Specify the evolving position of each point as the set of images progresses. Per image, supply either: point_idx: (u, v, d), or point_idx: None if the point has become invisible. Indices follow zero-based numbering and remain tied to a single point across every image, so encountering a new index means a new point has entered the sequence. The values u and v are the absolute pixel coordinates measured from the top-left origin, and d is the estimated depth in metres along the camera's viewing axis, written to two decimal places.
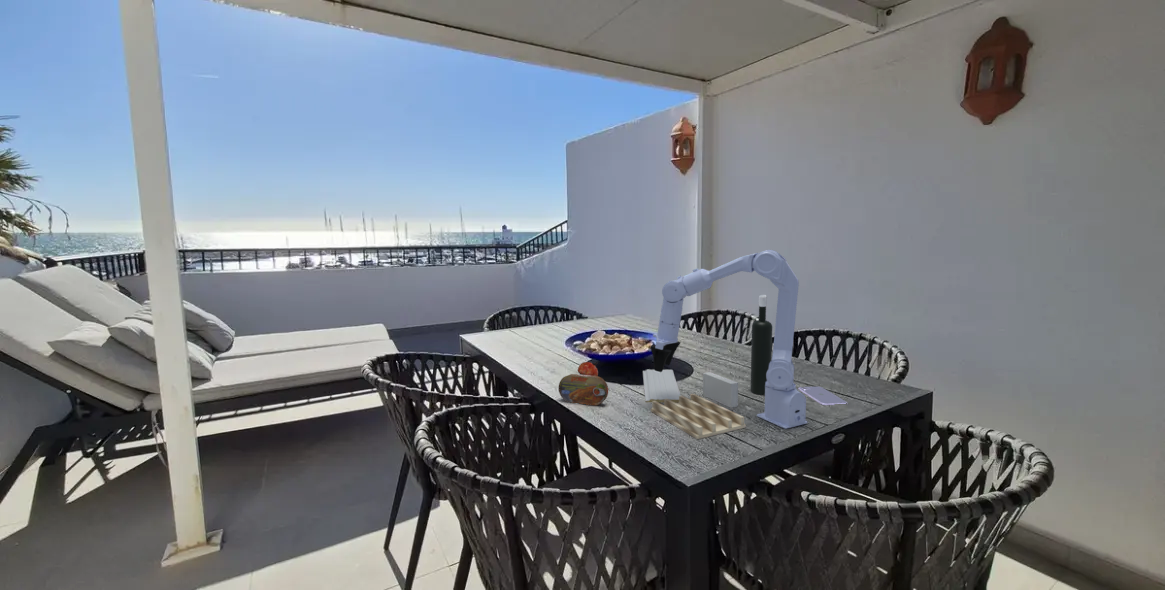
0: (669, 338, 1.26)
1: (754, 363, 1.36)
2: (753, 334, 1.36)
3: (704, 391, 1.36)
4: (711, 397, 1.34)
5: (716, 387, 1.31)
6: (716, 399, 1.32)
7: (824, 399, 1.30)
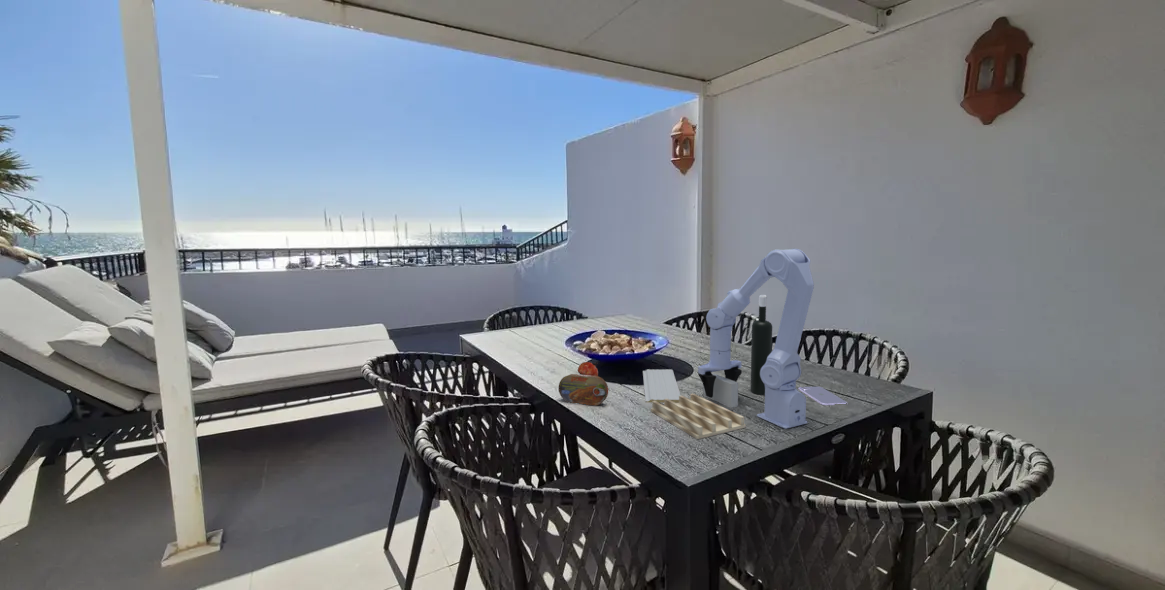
0: (716, 364, 1.29)
1: (754, 363, 1.36)
2: (753, 334, 1.36)
3: (704, 391, 1.36)
4: None
5: (716, 387, 1.31)
6: (716, 399, 1.32)
7: (824, 399, 1.30)
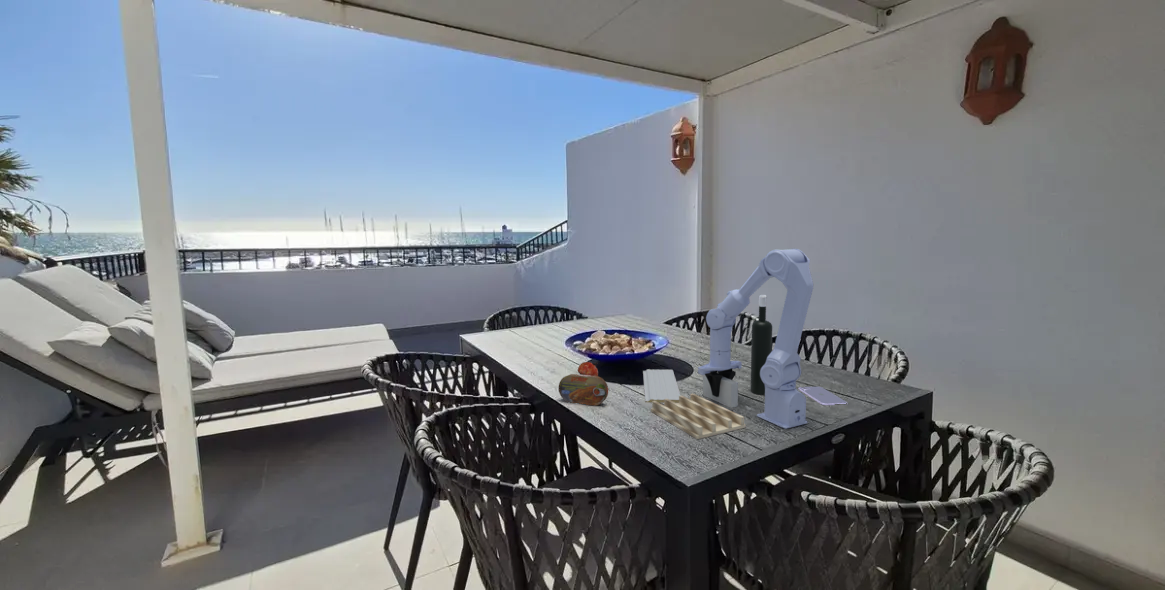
0: (716, 365, 1.29)
1: (754, 363, 1.36)
2: (753, 334, 1.36)
3: (704, 391, 1.36)
4: (711, 397, 1.34)
5: None
6: (716, 399, 1.32)
7: (824, 399, 1.30)
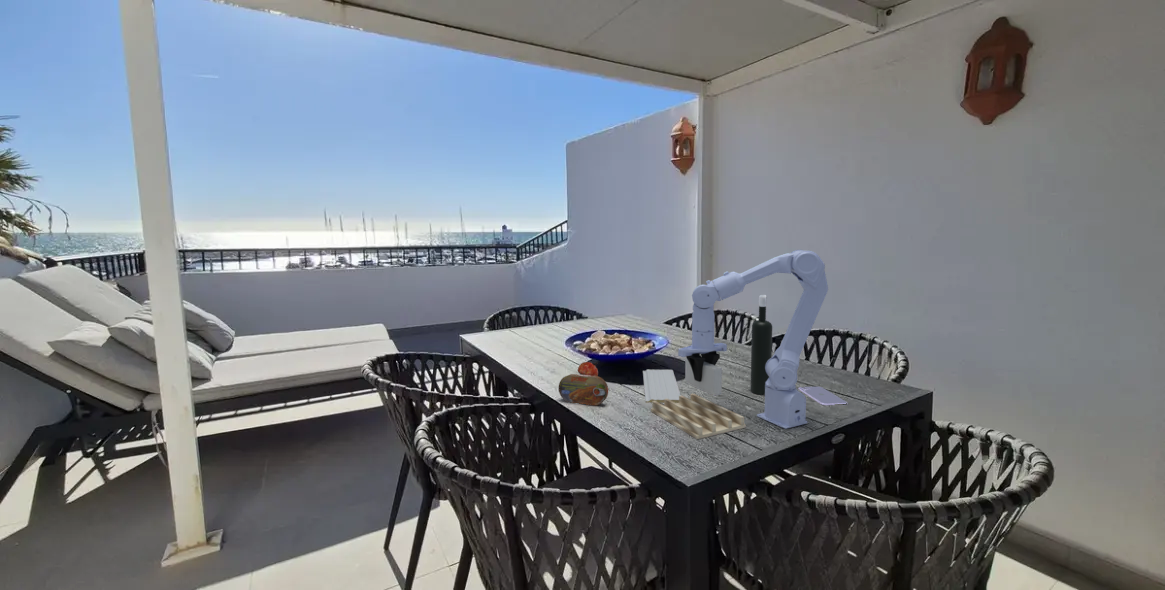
0: (698, 346, 1.18)
1: (754, 363, 1.36)
2: (753, 334, 1.36)
3: (686, 378, 1.26)
4: (694, 384, 1.23)
5: None
6: (699, 386, 1.21)
7: (824, 399, 1.30)
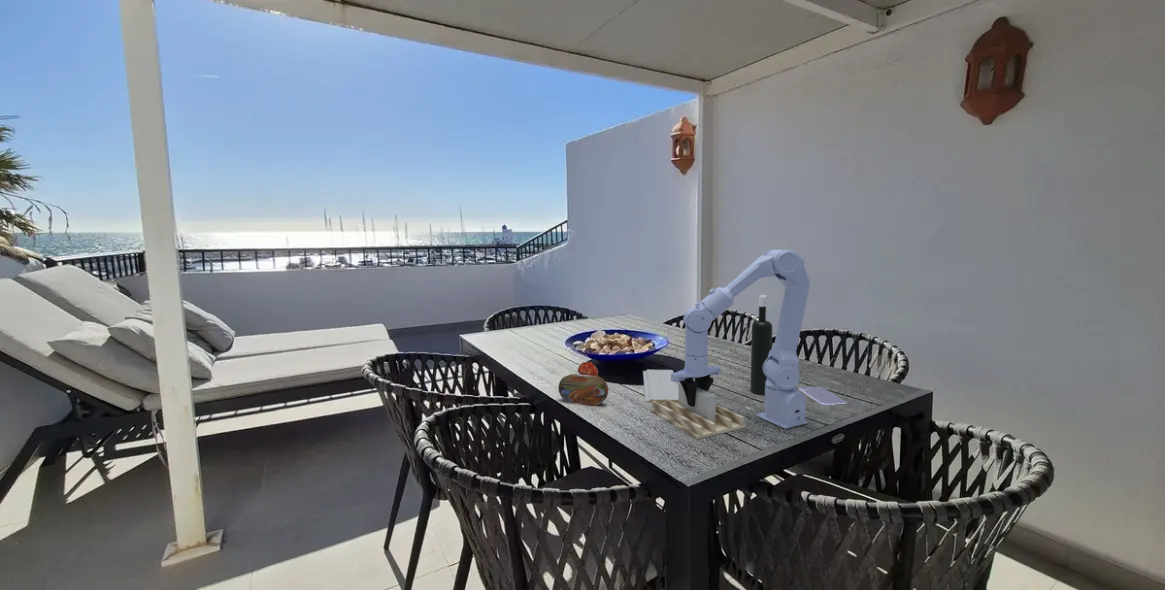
0: (691, 371, 1.15)
1: (754, 363, 1.36)
2: (753, 334, 1.36)
3: (680, 403, 1.23)
4: None
5: None
6: None
7: (824, 399, 1.30)
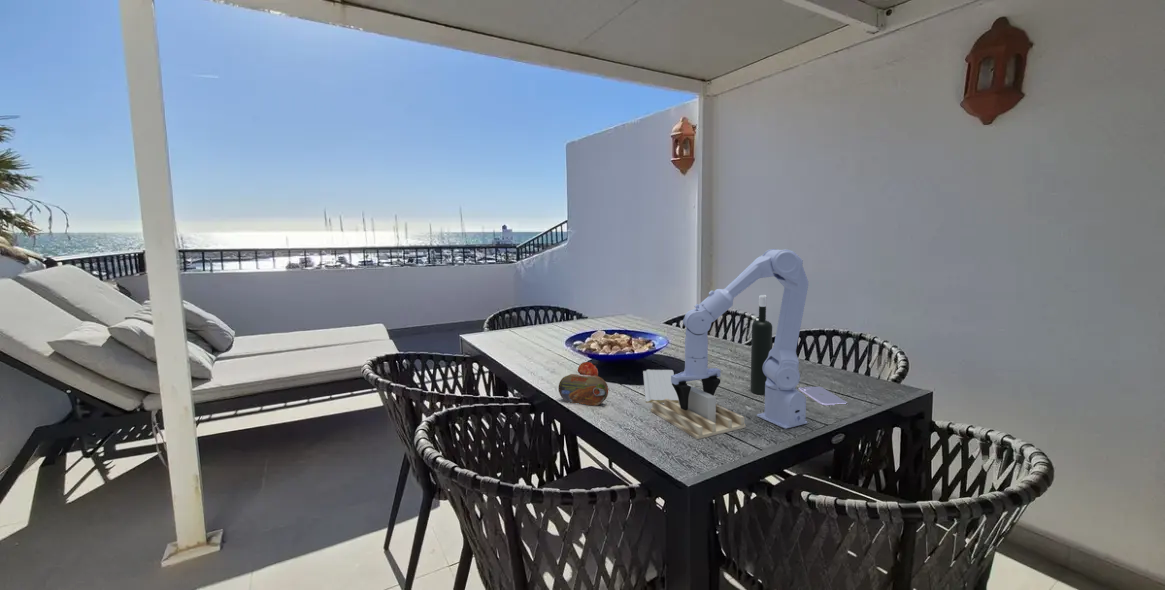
0: (691, 373, 1.15)
1: (754, 363, 1.36)
2: (753, 334, 1.36)
3: None
4: None
5: (692, 401, 1.18)
6: None
7: (824, 399, 1.30)
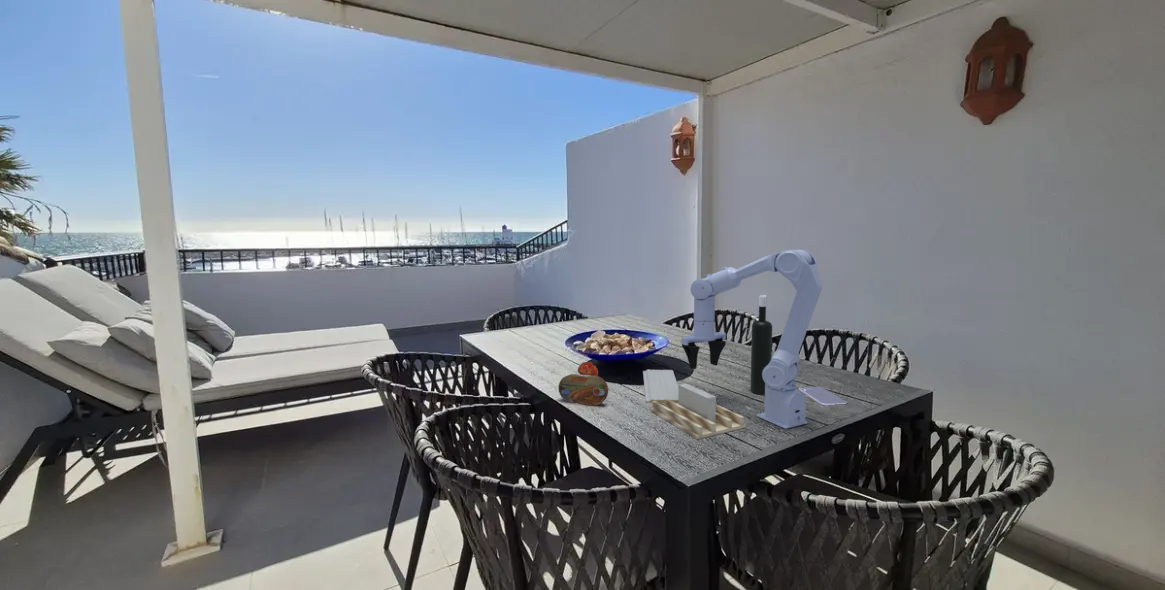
0: (699, 335, 1.27)
1: (754, 363, 1.36)
2: (753, 334, 1.36)
3: None
4: None
5: (692, 401, 1.18)
6: None
7: (824, 399, 1.30)
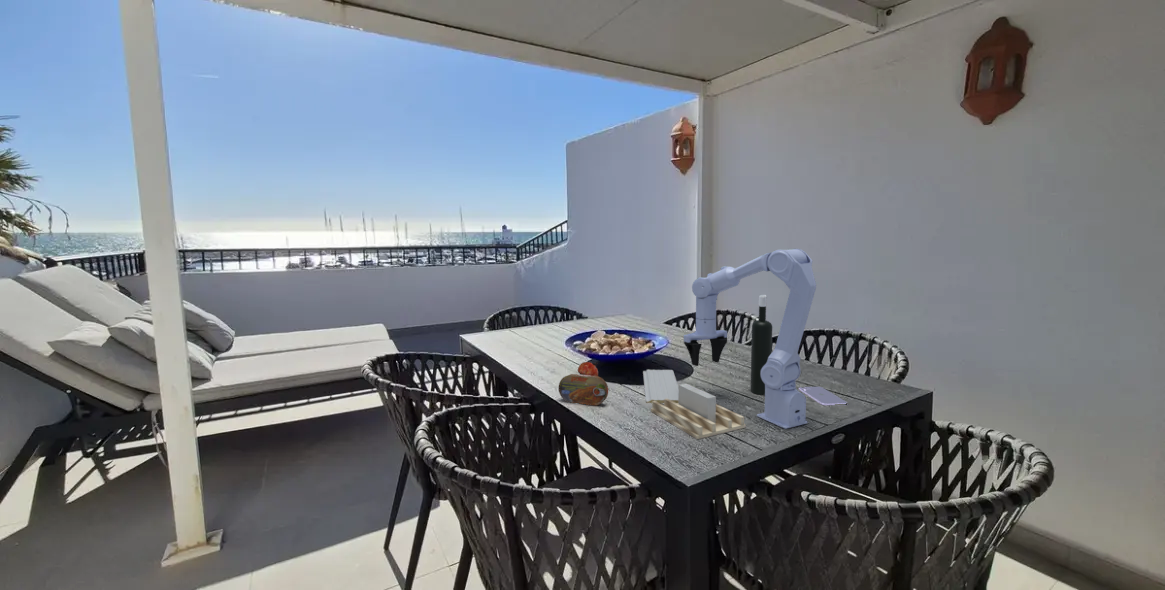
0: (701, 333, 1.30)
1: (754, 363, 1.36)
2: (753, 334, 1.36)
3: None
4: None
5: (692, 401, 1.18)
6: None
7: (824, 399, 1.30)
